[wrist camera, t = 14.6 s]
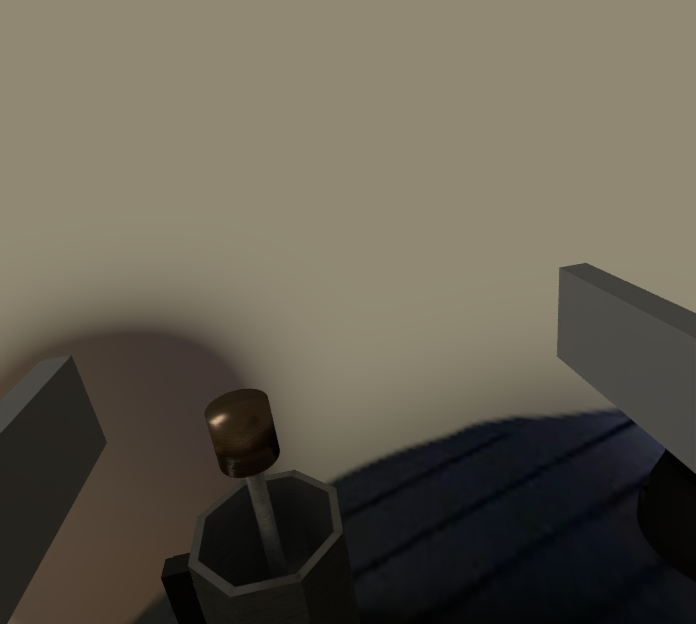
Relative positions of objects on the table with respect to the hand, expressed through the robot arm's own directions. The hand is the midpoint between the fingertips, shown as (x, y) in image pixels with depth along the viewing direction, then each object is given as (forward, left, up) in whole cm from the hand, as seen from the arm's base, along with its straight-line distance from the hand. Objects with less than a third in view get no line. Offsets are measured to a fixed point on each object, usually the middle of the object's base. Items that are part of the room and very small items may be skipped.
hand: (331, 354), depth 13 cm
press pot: (+7, -15, -37) cm, 40 cm away
